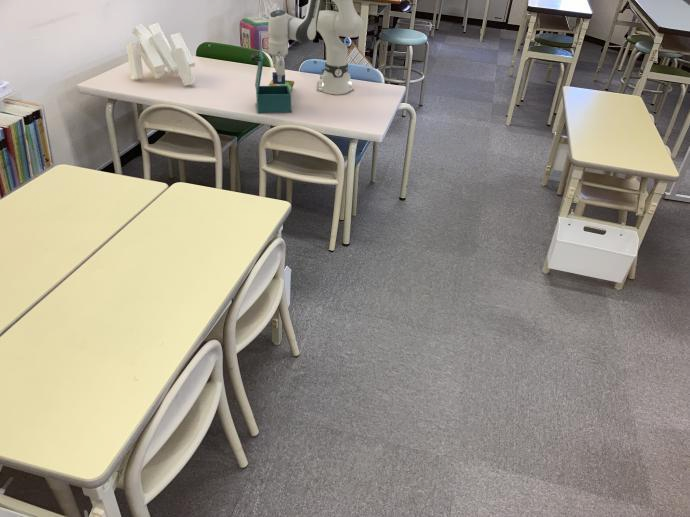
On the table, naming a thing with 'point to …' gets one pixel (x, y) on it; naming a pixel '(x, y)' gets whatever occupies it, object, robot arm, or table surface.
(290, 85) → the puzzle game
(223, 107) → the table surface
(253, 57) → the cooler lid
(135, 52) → the pile of blocks
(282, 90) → the cooler
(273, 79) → the block
